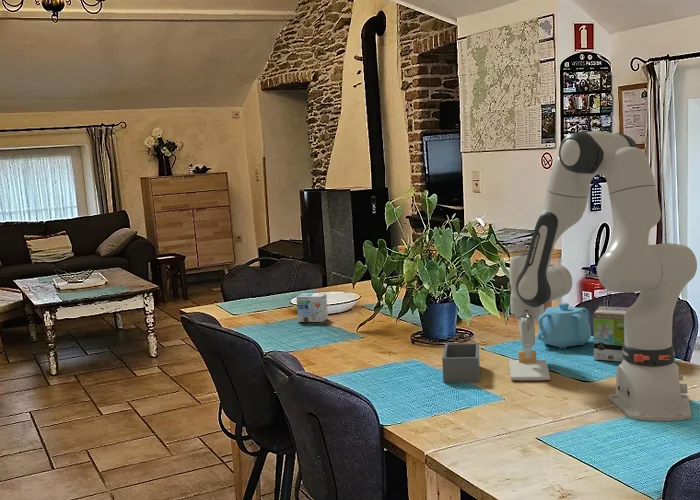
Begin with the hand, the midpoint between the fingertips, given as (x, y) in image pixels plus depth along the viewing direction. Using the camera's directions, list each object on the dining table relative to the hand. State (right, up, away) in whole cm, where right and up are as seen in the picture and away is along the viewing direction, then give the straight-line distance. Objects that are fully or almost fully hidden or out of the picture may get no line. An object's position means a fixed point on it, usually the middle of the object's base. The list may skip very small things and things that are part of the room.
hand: (527, 353), depth 226 cm
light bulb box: (-67, +2, +79) cm, 104 cm away
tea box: (+29, -2, +3) cm, 29 cm away
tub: (-20, -6, -3) cm, 21 cm away
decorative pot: (+17, 0, +23) cm, 29 cm away
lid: (-1, -5, -6) cm, 8 cm away
